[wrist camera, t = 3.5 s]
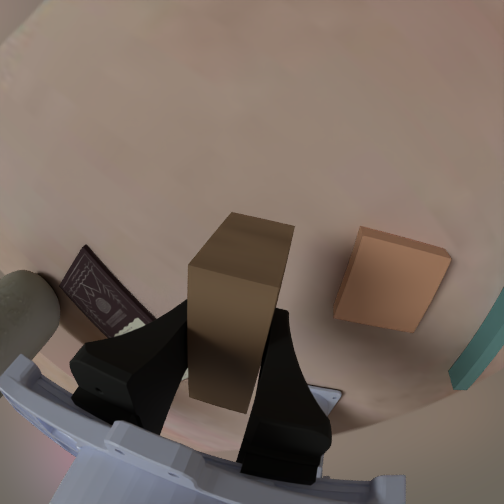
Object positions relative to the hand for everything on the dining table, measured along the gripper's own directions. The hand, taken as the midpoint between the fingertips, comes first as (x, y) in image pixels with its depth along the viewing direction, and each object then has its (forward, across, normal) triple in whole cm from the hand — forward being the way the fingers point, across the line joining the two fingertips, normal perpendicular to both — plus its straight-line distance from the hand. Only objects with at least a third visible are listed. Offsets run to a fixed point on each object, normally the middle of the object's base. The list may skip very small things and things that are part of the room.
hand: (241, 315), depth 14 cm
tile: (+9, -9, +1) cm, 13 cm away
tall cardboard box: (+2, 0, 0) cm, 2 cm away
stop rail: (+8, -22, 0) cm, 23 cm away
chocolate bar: (+9, +14, +14) cm, 21 cm away
